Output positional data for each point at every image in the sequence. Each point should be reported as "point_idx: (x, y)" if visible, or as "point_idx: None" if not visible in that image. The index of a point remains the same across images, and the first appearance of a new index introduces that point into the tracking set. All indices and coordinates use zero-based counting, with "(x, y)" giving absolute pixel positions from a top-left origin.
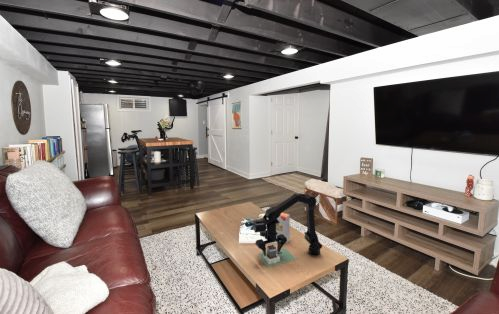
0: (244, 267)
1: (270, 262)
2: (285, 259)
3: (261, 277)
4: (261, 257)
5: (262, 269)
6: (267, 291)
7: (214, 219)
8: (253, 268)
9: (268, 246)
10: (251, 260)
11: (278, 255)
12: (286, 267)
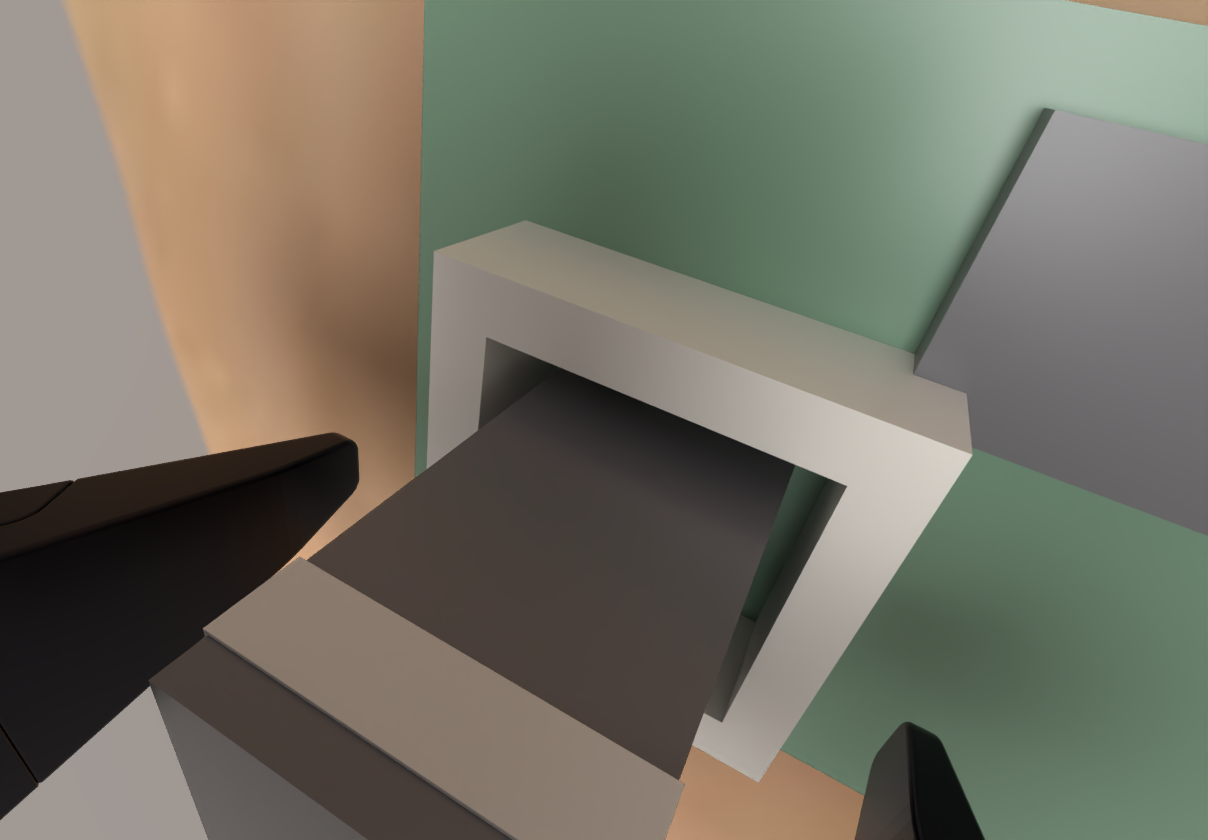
0: (118, 160)
1: None
2: (986, 772)
3: (301, 551)
4: (481, 164)
5: (374, 458)
6: None
7: None
8: (250, 314)
9: (212, 764)
10: (273, 4)
11: (1059, 523)
12: (776, 779)
